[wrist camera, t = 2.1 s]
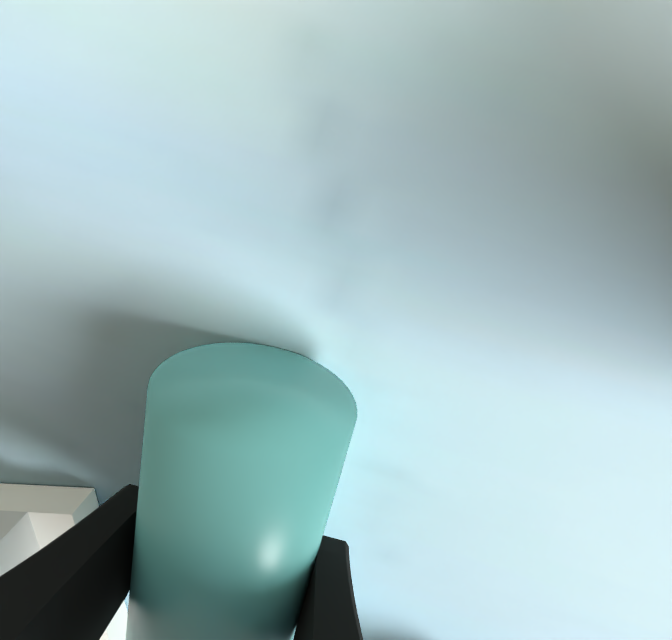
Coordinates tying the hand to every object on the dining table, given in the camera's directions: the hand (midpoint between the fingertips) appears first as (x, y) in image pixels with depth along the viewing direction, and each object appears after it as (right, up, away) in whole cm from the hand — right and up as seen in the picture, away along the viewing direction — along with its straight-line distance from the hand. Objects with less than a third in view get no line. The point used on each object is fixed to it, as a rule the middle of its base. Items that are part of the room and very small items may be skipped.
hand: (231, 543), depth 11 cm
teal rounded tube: (0, +1, +2) cm, 2 cm away
